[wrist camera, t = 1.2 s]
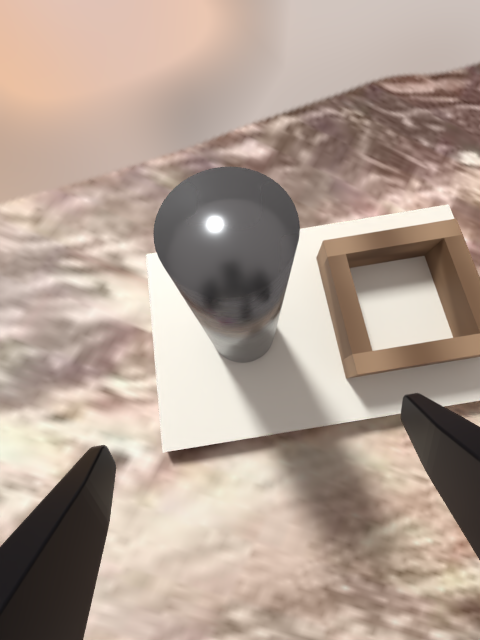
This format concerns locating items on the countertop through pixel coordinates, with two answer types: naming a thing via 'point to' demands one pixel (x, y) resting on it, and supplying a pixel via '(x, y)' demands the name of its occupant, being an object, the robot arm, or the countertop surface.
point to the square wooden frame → (448, 276)
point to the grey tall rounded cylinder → (230, 255)
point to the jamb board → (304, 349)
